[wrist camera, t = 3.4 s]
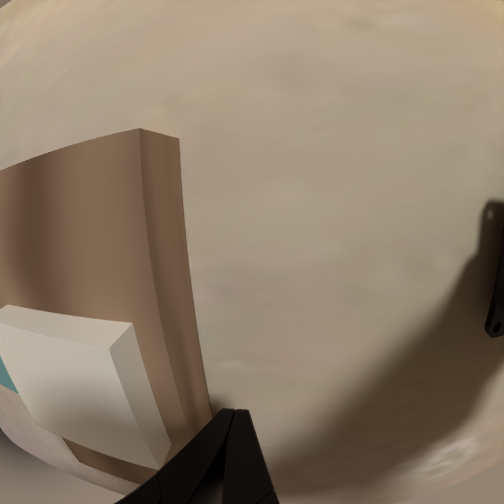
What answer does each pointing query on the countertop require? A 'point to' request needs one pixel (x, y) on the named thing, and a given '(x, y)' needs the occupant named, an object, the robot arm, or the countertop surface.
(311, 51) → the countertop surface
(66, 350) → the tile
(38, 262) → the wooden board
